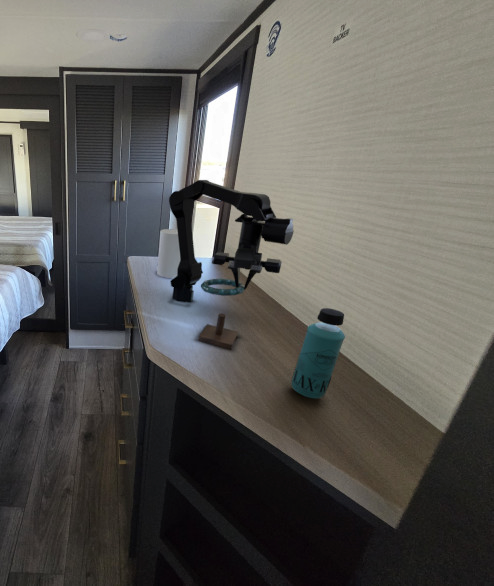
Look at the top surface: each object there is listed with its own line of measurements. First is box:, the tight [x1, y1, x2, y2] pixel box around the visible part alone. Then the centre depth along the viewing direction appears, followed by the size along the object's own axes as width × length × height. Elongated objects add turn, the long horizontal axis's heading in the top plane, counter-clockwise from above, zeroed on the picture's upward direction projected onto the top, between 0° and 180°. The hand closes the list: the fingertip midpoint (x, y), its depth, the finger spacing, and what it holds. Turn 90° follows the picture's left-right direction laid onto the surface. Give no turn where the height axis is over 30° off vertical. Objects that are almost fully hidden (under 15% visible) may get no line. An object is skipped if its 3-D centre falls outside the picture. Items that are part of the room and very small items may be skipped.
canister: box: [156, 228, 180, 280], centre depth 143 cm, size 14×14×20 cm
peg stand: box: [197, 312, 239, 350], centre depth 89 cm, size 9×9×8 cm
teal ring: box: [200, 278, 245, 297], centre depth 100 cm, size 13×13×2 cm
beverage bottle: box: [290, 307, 346, 399], centre depth 64 cm, size 6×7×20 cm
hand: (241, 288), depth 97 cm, fingers closed on teal ring, 2 cm apart
